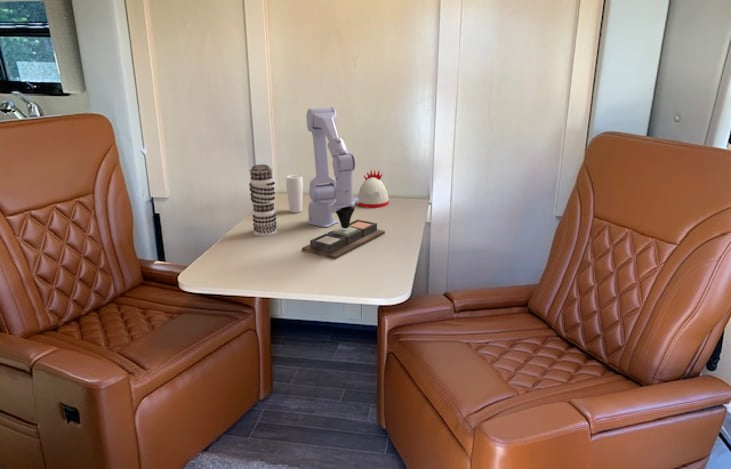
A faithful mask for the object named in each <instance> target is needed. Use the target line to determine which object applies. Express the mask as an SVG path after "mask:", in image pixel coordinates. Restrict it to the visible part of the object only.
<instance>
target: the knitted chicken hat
mask: <svg viewBox="0 0 731 469" xmlns="http://www.w3.org/2000/svg"><path fill="white" fill-rule="evenodd" d="M366 175H367V177H366V176H365V175H364V174H363V177H364V179H365V180H364V181H363V183H362V184H361V186H360V187H359V191H358V194H357V198H359V203H358V204H357V205H358V206H359V207H362V208H368V209H369V208H370V209H376V208H383V207H386V206H388V205H389V201H390V200H389V194H388V191H387V187H386V186H385V184H384V183H383V181H382V180H381V178H382V177H383V172H382V173H381V174H380V170H378V171H377V173H376V170H375V169H374V171H373V172H372V169H370V173H369V172H366Z"/></svg>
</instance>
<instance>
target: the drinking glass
mask: <svg viewBox="0 0 731 469" xmlns="http://www.w3.org/2000/svg"><path fill="white" fill-rule="evenodd" d="M285 178H286V180H285V181H286V191H287V192H286V193H287V197H288V198H287V199H288V205H289V212H290V213H292V214H299V213H302V212H303V196H304V195H303V194H304V179H303V175H301V174H289V175H287V176H286V177H285Z"/></svg>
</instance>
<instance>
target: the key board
mask: <svg viewBox="0 0 731 469" xmlns="http://www.w3.org/2000/svg"><path fill="white" fill-rule="evenodd" d="M356 222H363V223H368V224H372V225H370V226H368V227H366V228H363V229H362V228H358V227H353V226H350V225H352V224H354V223H356ZM349 227H352V228H356V229H358V231H357V232H355V233H353V234H351V235H349V236H344V235H340V234H335V233H332V230H331V231H328V232H327V233H324V234H321V235H320V236H316V237H314V238H313V239H310V241H309V244H307V245H305V246H303V247H301V251H303V252H306V253H309V254H313V255H318V256H321V257H324V258H329V259H332V260H336V259H338V258H341V257H342V256H344V255H346V254H348V253H350V252H352V251H354V250H356V249H358V248H360V247H362V246H363V245H366V244H367V243H369V242H372V241H373V240H375V239H377V238H379V237H381V236H383V235H385V233H386V231H385V230H381V229H378V223H377V222H372V221H367V220H362V219H355V220H353V221H350V223H349ZM325 236H330V237H334V238H338V239H340V240H338V241H336V242H334V243H332V244H326V243H322V242H318V241H316V240H318V239H321V238H323V237H325Z"/></svg>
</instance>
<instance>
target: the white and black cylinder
mask: <svg viewBox="0 0 731 469" xmlns="http://www.w3.org/2000/svg"><path fill="white" fill-rule="evenodd" d="M272 171H273V168H271V167H270V166H269V165H268V164H256V165H253V166H252V167H251V169H249V172H250V182H249V184H248V186H249V191H250V200H251V204H252V208H253V209H252V218H253V219H252V221H253V224H252V225H253V230H254V231H253V234H254V235H256V236H259V235H260V236H259V237H267V236H272V235H275V234H277V232H278V231H277V228H278V227H277V221H276V220H277V217H276V215H277V213H276V208H275V204H274V203H275V202H276V197H275V196H274V195H275V193H276V191H274V190H276V189H275V188H276V187H274V185H275V183H276V182H274V179H273V173H272Z"/></svg>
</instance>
